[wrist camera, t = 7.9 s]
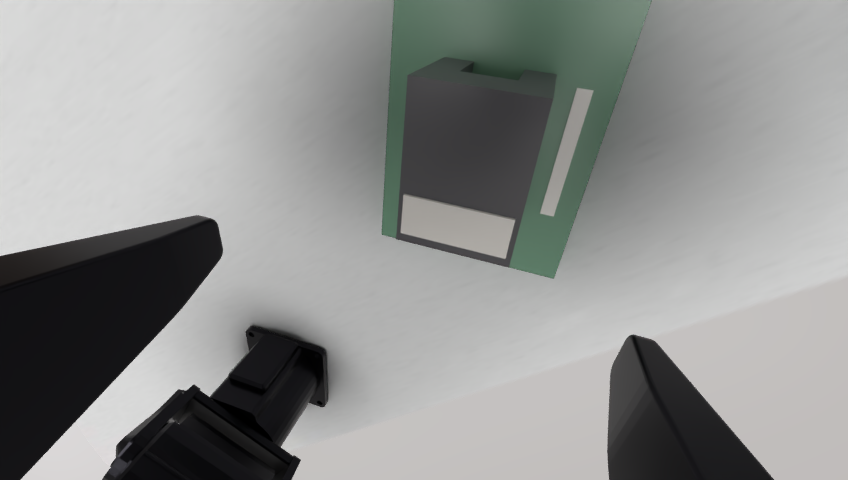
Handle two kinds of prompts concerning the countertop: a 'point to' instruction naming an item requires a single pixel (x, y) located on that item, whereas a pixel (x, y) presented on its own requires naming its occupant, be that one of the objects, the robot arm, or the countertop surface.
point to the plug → (469, 157)
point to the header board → (508, 58)
